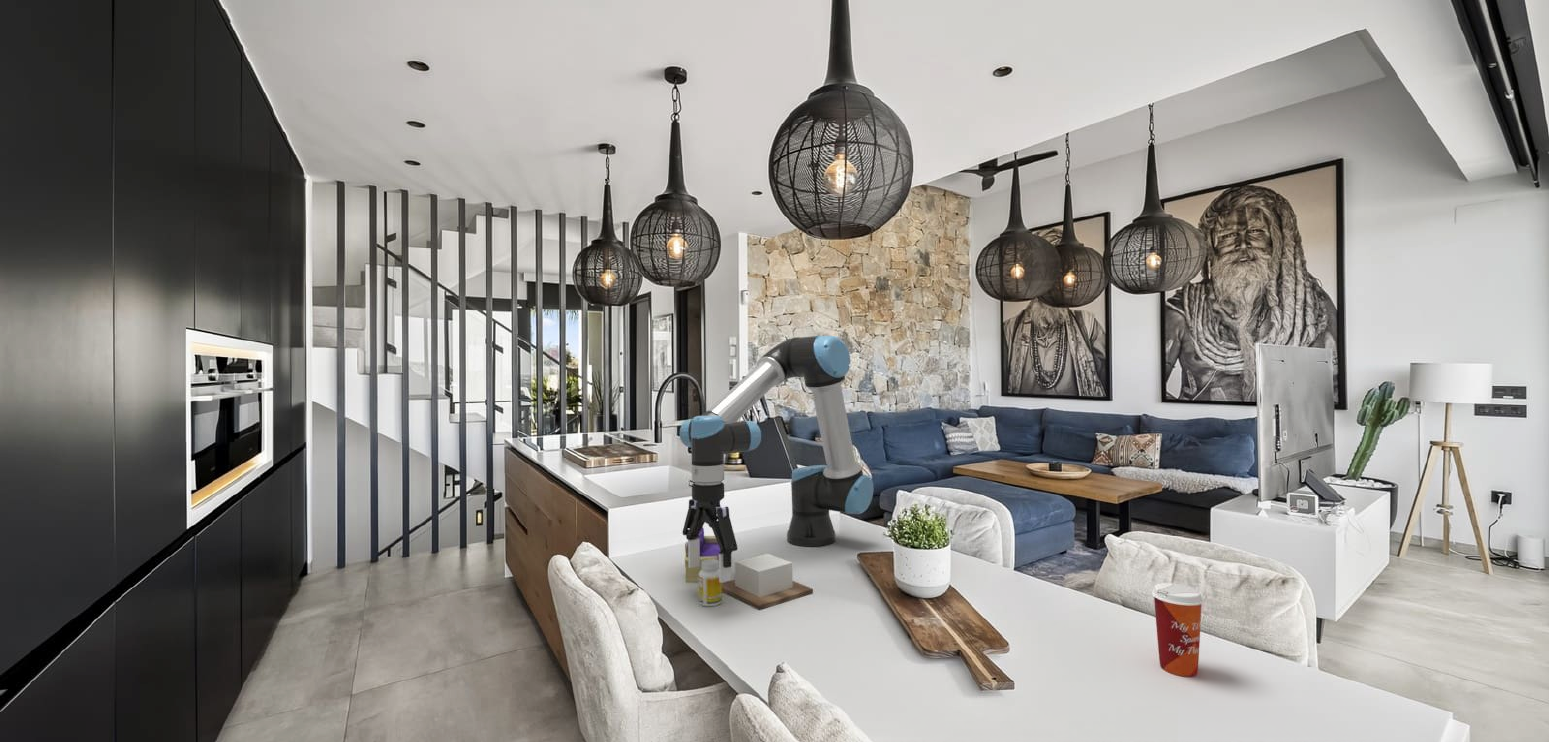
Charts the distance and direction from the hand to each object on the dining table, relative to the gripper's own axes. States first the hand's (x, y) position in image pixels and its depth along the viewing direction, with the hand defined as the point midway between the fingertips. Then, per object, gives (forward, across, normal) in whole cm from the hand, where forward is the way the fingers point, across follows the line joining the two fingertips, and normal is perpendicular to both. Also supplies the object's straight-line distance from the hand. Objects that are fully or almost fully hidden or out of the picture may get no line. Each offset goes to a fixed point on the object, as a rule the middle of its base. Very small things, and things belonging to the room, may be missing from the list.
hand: (709, 573), depth 146 cm
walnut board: (+7, +2, +14) cm, 16 cm away
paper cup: (+7, +81, +46) cm, 93 cm away
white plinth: (+7, +2, +14) cm, 16 cm away
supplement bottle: (+7, 0, 0) cm, 7 cm away
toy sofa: (+7, -21, +12) cm, 25 cm away
